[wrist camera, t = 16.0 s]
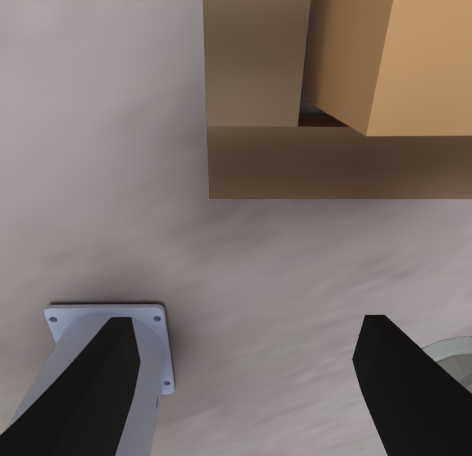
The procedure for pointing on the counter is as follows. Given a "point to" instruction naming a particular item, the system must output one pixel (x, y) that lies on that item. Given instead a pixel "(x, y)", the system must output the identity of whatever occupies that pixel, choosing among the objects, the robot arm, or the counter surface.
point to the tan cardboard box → (392, 65)
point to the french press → (454, 358)
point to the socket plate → (302, 122)
